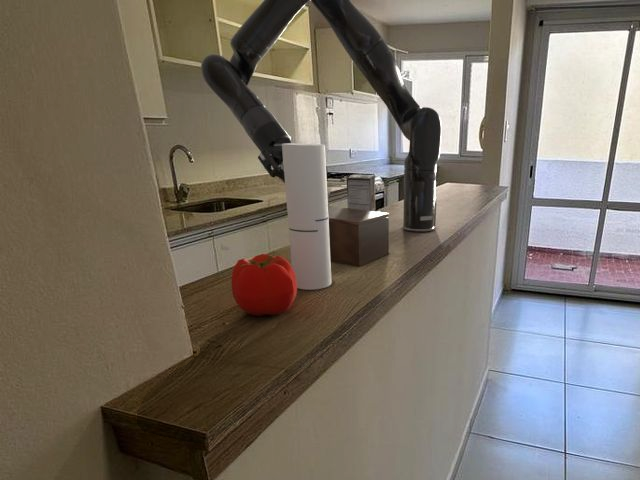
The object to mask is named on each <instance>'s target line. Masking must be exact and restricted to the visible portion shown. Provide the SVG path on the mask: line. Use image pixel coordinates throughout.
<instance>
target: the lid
mask: <svg viewBox="0 0 640 480" xmlns="http://www.w3.org/2000/svg"><path fill="white" fill-rule="evenodd" d="M327 197H328V218H329V222H335V223H343V224H350V225H357V226H359V225H363V224H366V223H369V222H373V221H376V220H379V219H383V218H386V217H389V216H390V213H389V212H381V211H375V212H374V211H366V210H358V209H350V208H348V207H341V206H335V205H331V206H330V198H331V192H330V191H329V190H327ZM389 218H390V217H389Z"/></svg>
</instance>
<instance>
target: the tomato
mask: <svg viewBox="0 0 640 480" xmlns="http://www.w3.org/2000/svg"><path fill="white" fill-rule="evenodd" d="M230 279H231V284H230V285H231V292H232V296H233V299H234V301H235V303H236V304H237V305H238V306H239V308H240V309H241V310H242V311H243V312H246V313H248V314H250V315H251V316H255V317H257V316H258V317H262V316H265V315H269V316H278V315H280V314H282V313H284V312H286V311H288V310H289V309H290V308H292V305H293V302H294V301H295V299H296V296H297V293H298V288H297V281H296V276H295V274H294V271H293V269H292V264H291V263H290V262H289V261H288V259H287V258H285V257H283V256H280V255H276V256H275V257H274V254H273V255H271V254H265V253H261V254H258V255H255V256H253V257H252V258H251V259H247V258H242V259H241V258H240V259H238V260H237V261H236V263H235V265H234V266H233V269H232V274H231V278H230Z"/></svg>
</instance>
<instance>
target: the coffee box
mask: <svg viewBox="0 0 640 480" xmlns="http://www.w3.org/2000/svg"><path fill="white" fill-rule="evenodd" d="M346 196H347V198H346V199H347V208H350V209H358V210H366V211H374V212H376V175H375V174H351V175H350V176H348V177H347V178H346Z"/></svg>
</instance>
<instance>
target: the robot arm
mask: <svg viewBox="0 0 640 480" xmlns="http://www.w3.org/2000/svg"><path fill="white" fill-rule="evenodd" d="M309 2H311V3H312V5H313V6H314V7H315V9H317V11H318V12H319V13H320V15H322V17H323V18H324V19H325V21H326V22H327V23H328V24H329V26H330V28H331V29H332V31H333V33H334V34H335V36H336V38H337V39H338V41H339V42H340V44H341V45H342V47H343V49H344V50H345V51H346V53H347V55H348V57H350V59H351V61H352V62H353V64H354V65H355V66H356V68H357V69H358V71H359V72H360V74H361V75H362V76H363V77H364V78H365V80H366V81H367V82H368V84H369V85H370V87H371V88H372V89H373V91H374V92H375V93H376V95H377V96H378V97H379V99H381V101H382V102H383V104H385V106H386V108H387V109H388V111H389V112H390V115H391V116H392V117H393V119H394V121H395V123H396V125H397V126H398V128H399V130H400V132H401V133H402V135H403V136H404V137H405V138H406V139H407V140H408V141H409V147H408V154H407V155H406V157H405V158H404V162H403V221H402V229H403V230H405V231H408V232H414V233H426V232H431V231H435V229H436V222H437V221H436V220H437V201H438V199H437V195H436V190H437V189H436V187H437V181H436V180H437V167H438V165H437V164H438V161H439V159H440V155H441V144H442V126H443V125H442V119H441V116H440V115H439V113H438V112H437V111H436V110H435V109H434V108H432V107H428V106H422V107H421V106H420V104H419V103H418V102H417V101H416V100H415V98H414V97H413V96H412V94H411V92H409V90H408V88H407V87H406V85H405V81H404V80H403V78H402V77H403V76H402V74H401V71H400V67H399V65H398V62H397V60H396V57H395V55H394V53H393V52H392V50H391V48H390V47H389V46H388V44H387V42H386V41H385V39H384V38H383V36H382V35H381V33H380V32H379V31H378V29H377V28H376V27H375V26H374V25H373V24H372V23H371V21H370V20H369V19H368V18H367V17H366V16H365V15H364V14H363V13H362V12H361V11H360V10H359V9H358V8H357V7H356V6H355V5H354V4H353V2H352V1H351V0H263V1H262V2H261V3H260V4H259V5H258V7H256V9H255V10H254V11H253V12H251V14H250V15H249V16H248V17H247V19H245V21H244V22H243V23H242V24H241V26H240V27H239V29H238V30H237V31H236V32H235V33H234V34H233V36H232V37H231V39H230V42H229V45H230V47H231V50H232V52H233V53H232V54H231V55H232V56H231V57H230V59H229V60H228V59H227V58H226V57H225V56H223V55H220V54H218V53H210V54H208V55H206V56H205V57H204V58H203V59H202V61H201V64H200V72H201V77H202V78H203V80H204V82H205V84H207V86H208V87H209V88H210V89H211V90H212V92H213V93H214V94H215V95H216V96H217V97H218V98H219V99H220V100H221V101H222V102H223V103H224V104H225V105H226V106H227V107H228V109H229V110H230V111H231V113H232V114H233V116H234V117H235V119H236V120H237V121H238V123H239V124H240V125H241V126H242V128H243V129H244V131H245V133H246V134H247V136H248V138H250V140H251V141H252V142H253V144H254V145H255V146H256V148H257V149H258V150H259V151H260V153H259V154H258V156H257V159H258V161H259V162H260V164H262V166H263V168H264V169H265V170H266V172H267V173H268V175H269V176H270V177H271V178H277V179H279V180H281V181H282V182H283V183H284V184H285V176H284V164H283V152H282V144H286V143H292V139H291V138H292V137H291V136H290V134H288V132H287V131H286V130H285V128H284V126H282V124H281V123H280V122H279V120H278V119H277V118H276V117H275V115H274V114H273V113H272V112H271V111H270V110H269V109H268V108H267V107H266V106H265V104H264V103H263V102H262V101H261V99H260V98H259V96H258V95H257V94H256V93H255V92H254V91H253V90H252V89H250V88H249V87H248V86H249V84H250V82H251V80H252V78H253V75H254V73H255V71H256V69H257V66H258V64H259V63H260V62H261V61H262V59H263V58H264V57H265V56H266V55H267V53H269V51H270V50H271V49H272V47H273V46H274V45H275V44H276V42H277V41H278V40H279V38H280V37H281V35H282V34H283V33H284V31H285V30H286V29H287V28H288V25H290V23H291V22H292V20H293V19H294V17H295V16H297V14H298V13H299V12H300V11H301V10H302V9H303V8H304V7H305V6H306V5H307V4H308V3H309Z"/></svg>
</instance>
